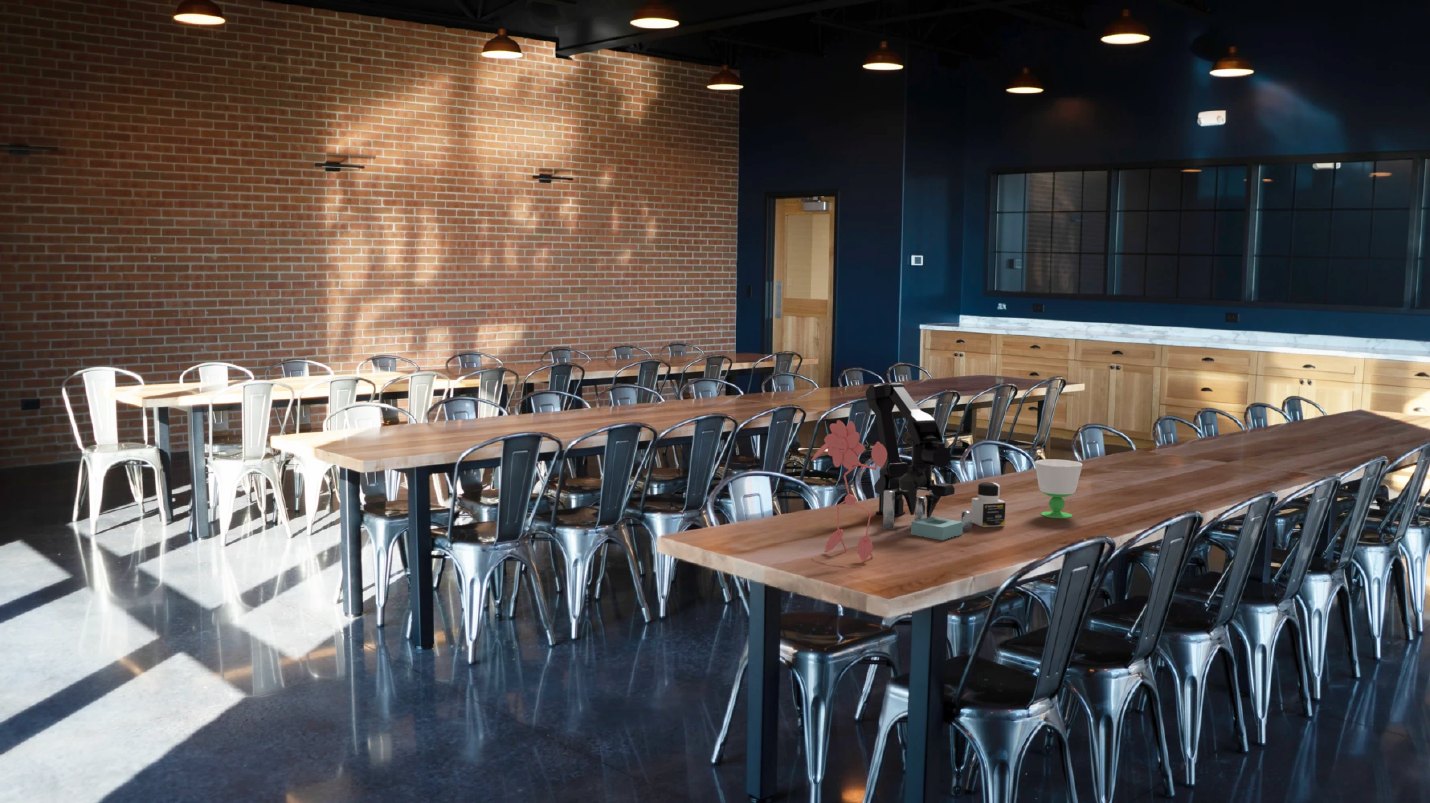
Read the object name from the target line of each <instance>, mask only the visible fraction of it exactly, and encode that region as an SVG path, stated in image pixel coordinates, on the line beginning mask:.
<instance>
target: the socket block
mask: <svg viewBox="0 0 1430 803" xmlns="http://www.w3.org/2000/svg"><path fill="white" fill-rule="evenodd" d="M910 526H911V528H910V530H911V531H910V532H911V533H910V534H911V535H912V536H913V535H914V536H918V537H922V536H924V538H928V539H934V540H939V541H945V540H948V538H949V539H952V538H955V537H954V536H956V537H958V536H962V535H963V531H964V530H963V522H961V520H960V521H959V520H954V519H953V520H952V519H948V518H942V517H937V516H930V517H928V518H927V517H926V518H924V519H920V520H917V521H915V520H913V521H911V525H910ZM951 537H952V538H951Z"/></svg>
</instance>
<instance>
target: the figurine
mask: <svg viewBox="0 0 1430 803" xmlns="http://www.w3.org/2000/svg"><path fill="white" fill-rule="evenodd" d="M829 430H830V432H831V433H829V434H827V435H826V436H825V437H824V439H823V440H824V443H825V444H822V445H821V447H820V448H819V449H817V451H816V452H815V453H814V455H813V456H812V458H811V460H810V461H811V462H812V461H815V460H816V459H817V458H819V457H820V456H821V455H822V454H824V452H825V451H826V450H827V455H828V456H829V457H832V462H833V465H834V467H835V468H839V467H841V465H843V468H846V469H847V471H846V472H844V475H843V479H844V483H845V487H846V492H847V495H846V496H845V497H844V500H843V501H842V502H840V503H839V504H837V505H836V513H837V515H836V516H837V518H836V519H837V530H835V531H834V532H833V533H832V534H831V535H830V536H829V538H828V540H827V541H826V544H825V549H824V553H827V552H830V551H831V550H833V549H834V548H835V547H837V546H838V545H839V543H840V542H841V544H842V545H841V546H842V548H843V550H844V552H848V550H847V548H846V544H845V542H844V539H843V535H844V531H843V529H840V521H839V519H840V516H839V514H840V513H839V512H840V511H839V507H840V506H842V505H843V504H846V505H848V506H853V505H854V506H857V507H859V508H861V509H862V510H864V511H866V512H868V513H869V514H868V520H867V526H866V532H865V535H863V536H862V537H860V539H859V541H858V542H857V547H856V548H857V554H858V555H859V557H860V559H861V560H862V561H863V562H864V563H865V561H866V560H868V558H869V557H870V558H872V559H873V558H874V556H873V553H872V551H873V542H872V540H871V538H870V537H869V536H868V532H869V526H870V522H871V517H872V513H871V512H872V511H870V510H869V509H866V508H864V507H863V506H861V505H860V504H858V503H856V501H857V500H856V496H854V495H853V494H850V490H849V485H848V480H847V475H848V474H849V473H851V472H852V471H853V470H854V469H856V468H857V467H863V468H866V469H870V470H874V471H877V468H878V467H879V468H880V469H881V468H882V467H883V465H884V464H885V462H886V460H887V451H886V448H885V447H884V446H883V444H880V441H876V443H875V444H874V445H873V446H872V449H871V459H872V460H873V463H874V467H873V466H870V465H866V464H863V463H861V461H860V459H859V457H858V456H860V455H862V454H863V453H864V452H865V449H866V448H865V445H863V444H862V443H861V442H859V441H860V433H859V432H858V431H857V430H856V426H855V423H854V422H853V421H851V420H849V422H848V423H847V425H845V424H844V422H843V421H841V420H840V419H837V420H836V423H834V422H833V423H831V424H830V425H829ZM811 560H812V561H813V560H814V559H813V558H811ZM818 562H819V564H820V565H824V564H825V563H823V562H820V561H818ZM821 563H822V564H821ZM832 565H833V566H832V567H835V565H834V564H832ZM837 566H838V567H839V568H844V566H842V565H841V566H839V565H837ZM850 567H851V568H852V569H856V568H857V569H858V568H859V569H862V568H863V567H862V566H850Z"/></svg>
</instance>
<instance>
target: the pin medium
mask: <svg viewBox="0 0 1430 803" xmlns="http://www.w3.org/2000/svg"><path fill="white" fill-rule="evenodd" d="M924 518H927V499H926V497H925V496H922V495H921V496H916V498H915V512H914V521H917V520H920V519H924Z"/></svg>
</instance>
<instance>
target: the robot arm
mask: <svg viewBox="0 0 1430 803" xmlns="http://www.w3.org/2000/svg"><path fill="white" fill-rule="evenodd" d="M865 398H866V400H867V404H868V408H870V410H871V411H872V412H873V414H874V415H875V418H876V425H877V426H876V427H877V431H878V438H879V443H880V444H883V446H884V447H885V448H886V451H887V460H886V462H885V464H884V465H883V467H882V468H880V469H879V478H878V479H877V481H876V482H875V483H874V484H873V488H874V493H875V494H878V495H879V496H878V499H879V500H878V502H879V503H878V510H877V511H875V513H876V514H877V515H883V504H884V491H886V490H891V491H895V498H894V517H896V516H900V515H904V514H906V511H904V504H905V503H904V502H906V504H907V507H908V511H909V514H910V516H915V498H916V497H918V496H917V493H918V490H920V491H928V494H925V495H924V497H926V518H928V517H932V515H933V512H934V511H935V508H936V506H937V504H938V502H939V501H940V499H941V498H943V497H945V498H946V497H949V496H954V495H955V490H956V488H955V487H954V485H953V484H951V483H945V482H940V483H935V480H934V479H933V478H932V475H933V470H935V467H937V468H940V469H942V468H945V467H946V466H948V465H949V464H950V462H951V458H952V456H951V453H950V451H949V449H948V448H947V447H946V443H945V442H944V441H943V436H942V435H943V434H942V433H941V432H940V429H939V426H938V423H937V421H936V420H935V418H934V417H933V416H931V414H929V413H927V412H924V411H922V409H920V407H919V406H918V404H916V402H915V401H914V400H913V398H912V397H911V395H910V393H908V391H907V389H906V386H905V384H904V383H902V382H888V383H885V384H882V383H880V384H869V386H868V388H866V391H865ZM895 406H896V408H897V410H898V411H899V413H901V415H902V417H903V418H904V419H905V421H906V427H905V428H906V430H907V432H908V434H909V435H910V438H911V439H910V440H909V441H908V444H909V445H911V446H912V447H911V465H908V463H907V462H903V461H902V460H901V457H900V451H899V447H898V440H897V435H896V434H897V433H896V428H895V422H894V416H893V410H894V407H895ZM934 483H935V484H934ZM904 500H905V501H904Z"/></svg>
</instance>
